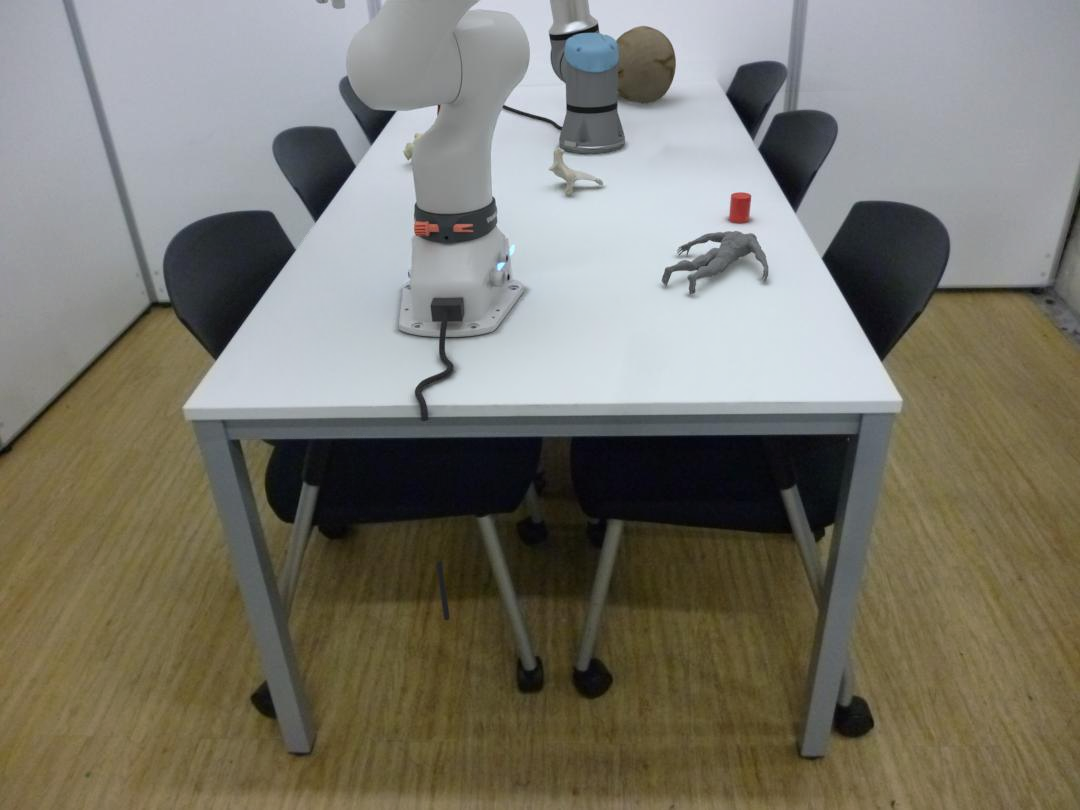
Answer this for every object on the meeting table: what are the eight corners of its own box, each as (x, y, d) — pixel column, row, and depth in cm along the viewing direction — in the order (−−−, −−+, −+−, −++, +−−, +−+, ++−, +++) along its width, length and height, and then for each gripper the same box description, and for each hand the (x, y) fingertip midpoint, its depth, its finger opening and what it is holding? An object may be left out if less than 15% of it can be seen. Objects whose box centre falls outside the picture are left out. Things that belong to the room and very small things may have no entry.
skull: (639, 73, 244) (664, 1, 222) (666, 131, 237) (695, 63, 214) (589, 79, 240) (609, 6, 218) (614, 138, 233) (638, 70, 210)
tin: (735, 214, 152) (738, 190, 150) (752, 219, 150) (755, 194, 148) (725, 220, 150) (727, 196, 148) (742, 224, 148) (744, 200, 146)
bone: (576, 172, 159) (561, 138, 165) (554, 195, 163) (539, 162, 168) (611, 192, 166) (595, 159, 172) (589, 214, 170) (574, 181, 175)
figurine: (723, 310, 121) (798, 261, 131) (724, 284, 118) (801, 236, 129) (634, 279, 131) (711, 236, 142) (634, 254, 129) (712, 213, 139)
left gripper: (355, -92, 125) (369, 9, 133) (316, -92, 141) (331, -2, 148) (314, -89, 123) (330, 13, 130) (279, -90, 138) (296, 2, 146)
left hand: (330, 5), depth 139 cm, fingers open, 8 cm apart
